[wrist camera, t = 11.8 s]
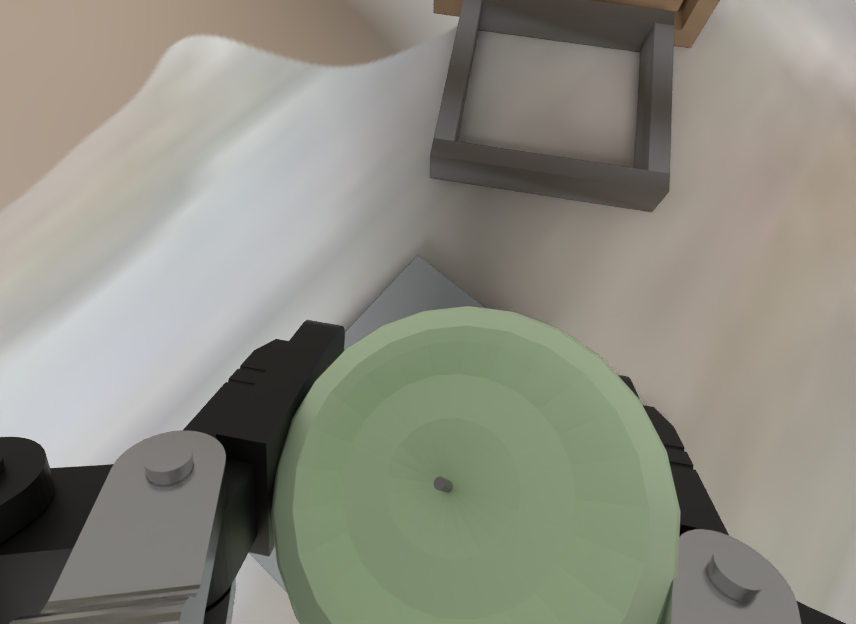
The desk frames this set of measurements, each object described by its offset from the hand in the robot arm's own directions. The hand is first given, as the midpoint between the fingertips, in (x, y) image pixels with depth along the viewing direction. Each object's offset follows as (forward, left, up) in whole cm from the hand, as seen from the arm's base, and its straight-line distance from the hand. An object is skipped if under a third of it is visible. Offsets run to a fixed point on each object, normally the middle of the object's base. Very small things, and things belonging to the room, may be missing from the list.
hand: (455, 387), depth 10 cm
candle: (+2, +1, -4) cm, 5 cm away
